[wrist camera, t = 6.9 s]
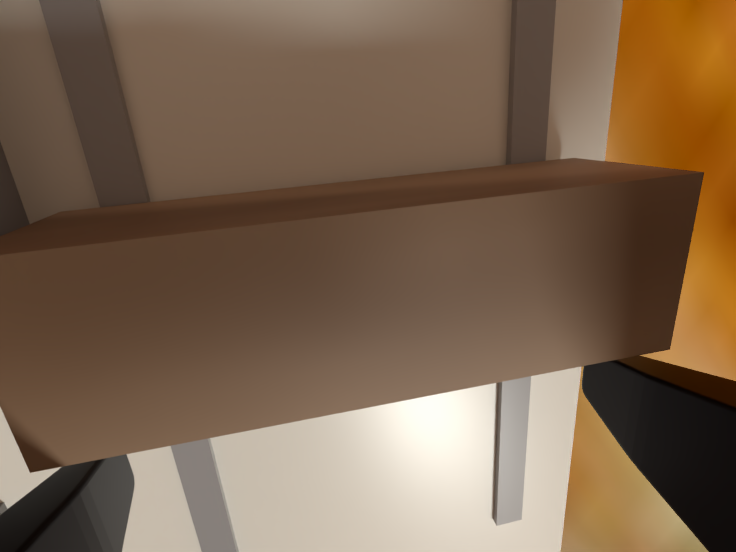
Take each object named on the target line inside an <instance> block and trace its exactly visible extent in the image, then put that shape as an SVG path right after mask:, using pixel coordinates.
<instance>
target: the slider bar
mask: <svg viewBox="0 0 736 552" xmlns="http://www.w3.org/2000/svg"><path fill="white" fill-rule="evenodd" d="M703 175H704V172H696V171H687V170H678V169H669V168H661V167H652V166H643V165H634V164H625V163H616V162H607V161H598V160H589V159H580V158H567V159H557V160H548V161H538V162H529V163H519V164H510V165H500V166H491V167H481V168H472V169H462V170H452V171H443V172H433V173H424V174H414V175H405V176H395V177H386V178H376V179H367V180H357V181H347V182H338V183H328V184H319V185H309V186H300V187H290V188H281V189H271V190H262V191H252V192H243V193H233V194H223V195H214V196H204V197H195V198H185V199H176V200H166V201H157V202H147V203H138V204H128V205H118V206H109V207H99V208H90V209H80V210H71V211H61V212H58V213H56V214H54V215H51V216H49V217H46V218H44V219H41V220H39V221H36V222H34V223H31V224H29V225H27V226H24V227H22V228H19V229H17V230H14V231H12V232H9V233H7V234H4V235H2V236H0V407H1V409H2V412H3V414H4V416H5V418H6V421H7V423H8V425H9V427H10V429H11V432H12V434H13V436H14V438H15V441H16V443H17V445H18V447H19V449H20V452H21V454H22V456H23V458H24V461H25V463H26V465H27V467H28V469H29V472H30V473H32V472H37V471H42V470H48V469H53V468H58V467H63V466H68V465H73V464H79V463H84V462H89V461H94V460H99V459H105V458H110V457H115V456H120V455H125V454H130V453H136V452H141V451H146V450H151V449H156V448H162V447H167V446H172V445H177V444H182V443H187V442H193V441H198V440H203V439H208V438H213V437H219V436H224V435H229V434H234V433H239V432H244V431H250V430H255V429H260V428H265V427H270V426H276V425H281V424H286V423H291V422H296V421H301V420H307V419H312V418H317V417H322V416H327V415H332V414H338V413H343V412H348V411H353V410H358V409H364V408H369V407H374V406H379V405H384V404H389V403H395V402H400V401H405V400H410V399H415V398H421V397H426V396H431V395H436V394H441V393H446V392H452V391H457V390H462V389H467V388H472V387H478V386H483V385H488V384H493V383H498V382H503V381H509V380H514V379H519V378H524V377H529V376H535V375H540V374H545V373H550V372H555V371H560V370H566V369H571V368H576V367H581V366H586V365H591V364H597V363H602V362H607V361H612V360H617V359H623V358H628V357H633V356H638V355H643V354H648V353H654V352H659V351H664V350H669V349H670V346H671V341H672V336H673V330H674V325H675V320H676V315H677V310H678V304H679V299H680V294H681V289H682V284H683V279H684V273H685V268H686V263H687V258H688V253H689V247H690V242H691V237H692V232H693V227H694V222H695V216H696V211H697V206H698V201H699V196H700V191H701V185H702V180H703Z"/></svg>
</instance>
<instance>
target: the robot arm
mask: <svg viewBox="0 0 736 552" xmlns="http://www.w3.org/2000/svg"><path fill="white" fill-rule="evenodd" d="M582 389H583V392H584V394H585V396H586V398H587V399H588V401H589V402H590V404H591V405H592V406H593V408H594V409H595V411H596V412H597V414H598V415H599V416H600V418H601V419H602V421H603V422H604V423H605V425H606V426H607V428H608V429H609V430H610V432H611V433H612V435H613V436H614V437H615V439H616V440H617V442H618V443H619V444H620V446H621V447H622V449H623V450H624V451H625V453H626V454H627V455H628V457H629V458H630V459H631V461H632V462H633V463H634V464H635V466H636V467H637V468H638V469H639V470H640V472H641V473H642V474H643V475H644V476H645V477H646V479H647V480H648V481H649V482H650V483H651V484H652V486H653V487H654V488H655V489H656V490H657V492H658V493H659V494H660V495H661V496H662V497H663V499H664V500H665V501H666V502H667V503H668V504H669V506H670V507H671V508H672V509H673V510H674V511H675V513H676V514H677V515H678V516H679V517H680V518H681V520H682V521H683V522H684V523H685V524H686V525H687V527H688V528H689V529H690V530H691V531H692V532H693V534H694V535H695V536H696V537H697V538H698V540H699V541H700V542H701V543H702V544H703V545H704V547H705V548H706V549H707V550H708V551H709V552H736V381H733V380H729V379H725V378H722V377H718V376H714V375H710V374H707V373H703V372H699V371H695V370H692V369H688V368H684V367H680V366H677V365H673V364H669V363H665V362H662V361H658V360H654V359H650V358H647V357H643V356H639V355H638V356H633V357H628V358H623V359H617V360H612V361H607V362H602V363H597V364H591V365H586V366H584V370H583V378H582ZM134 485H135V482H134V474H133V471H132V468H131V465H130V462H129V460H128V457H127V454H125V455H120V456H115V457H110V458H105V459H99V460H94V461H89V462H84V463H79V464H73V465H68V466H63V467H61V468H60V469H59V470H57V471H56V472H55V473H53V474H52V475H51V476H49V477H48V478H47V479H46V480H44V481H43V482H42V483H40V484H39V485H38V486H37V487H35V488H34V489H33V490H31V491H30V492H29V493H28V494H26V495H25V496H24V497H22V498H21V499H20V500H18V501H17V502H16V503H15V504H13V505H12V506H11V507H9V508H8V509H7V510H6V511H4V512H3V513H2V514H0V552H122V548H123V543H124V538H125V533H126V528H127V523H128V518H129V513H130V508H131V503H132V498H133V493H134Z"/></svg>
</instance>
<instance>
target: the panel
mask: <svg viewBox="0 0 736 552" xmlns="http://www.w3.org/2000/svg"><path fill="white" fill-rule="evenodd" d="M622 3H623V0H0V236H2V235H4V234H7V233H9V232H12V231H14V230H17V229H19V228H22V227H24V226H27V225H29V224H31V223H34V222H36V221H39V220H41V219H44V218H46V217H49V216H51V215H54V214H56V213H58V212H61V211H71V210H80V209H90V208H99V207H109V206H118V205H128V204H138V203H147V202H157V201H166V200H176V199H185V198H195V197H204V196H214V195H223V194H233V193H243V192H252V191H262V190H271V189H281V188H290V187H300V186H309V185H319V184H328V183H338V182H347V181H357V180H367V179H376V178H386V177H395V176H405V175H414V174H424V173H433V172H443V171H452V170H462V169H472V168H481V167H491V166H500V165H510V164H519V163H529V162H538V161H548V160H557V159H567V158H580V159H589V160H598V161H605V153H606V144H607V136H608V127H609V118H610V109H611V100H612V91H613V82H614V74H615V65H616V56H617V47H618V38H619V29H620V21H621V12H622ZM580 374H581V367H576V368H571V369H566V370H560V371H555V372H550V373H545V374H540V375H535V376H529V377H524V378H519V379H514V380H509V381H503V382H498V383H493V384H488V385H483V386H478V387H472V388H467V389H462V390H457V391H452V392H446V393H441V394H436V395H431V396H426V397H421V398H415V399H410V400H405V401H400V402H395V403H389V404H384V405H379V406H374V407H369V408H364V409H358V410H353V411H348V412H343V413H338V414H332V415H327V416H322V417H317V418H312V419H307V420H301V421H296V422H291V423H286V424H281V425H276V426H270V427H265V428H260V429H255V430H250V431H244V432H239V433H234V434H229V435H224V436H219V437H213V438H208V439H203V440H198V441H193V442H187V443H182V444H177V445H172V446H167V447H162V448H156V449H151V450H146V451H141V452H136V453H130V454H127V457H128V460H129V462H130V465H131V468H132V471H133V474H134V482H135V485H134V493H133V498H132V503H131V508H130V513H129V518H128V523H127V528H126V533H125V538H124V543H123V548H122V552H560V551H561V542H562V533H563V525H564V516H565V507H566V498H567V489H568V480H569V471H570V463H571V454H572V445H573V436H574V427H575V418H576V410H577V401H578V392H579V383H580ZM60 468H61V467H58V468H53V469H48V470H42V471H37V472H32V473H30V472H29V469H28V467H27V465H26V463H25V461H24V458H23V456H22V454H21V452H20V449H19V447H18V445H17V443H16V441H15V438H14V436H13V434H12V432H11V429H10V427H9V425H8V423H7V421H6V418H5V416H4V414H3V412H2V409H1V407H0V514H2V513H3V512H4V511H6V510H7V509H8V508H9V507H11V506H12V505H13V504H15V503H16V502H17V501H18V500H20V499H21V498H22V497H24V496H25V495H26V494H28V493H29V492H30V491H31V490H33V489H34V488H35V487H37V486H38V485H39V484H40V483H42V482H43V481H44V480H46V479H47V478H48V477H49V476H51V475H52V474H53V473H55V472H56V471H57V470H59V469H60Z"/></svg>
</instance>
